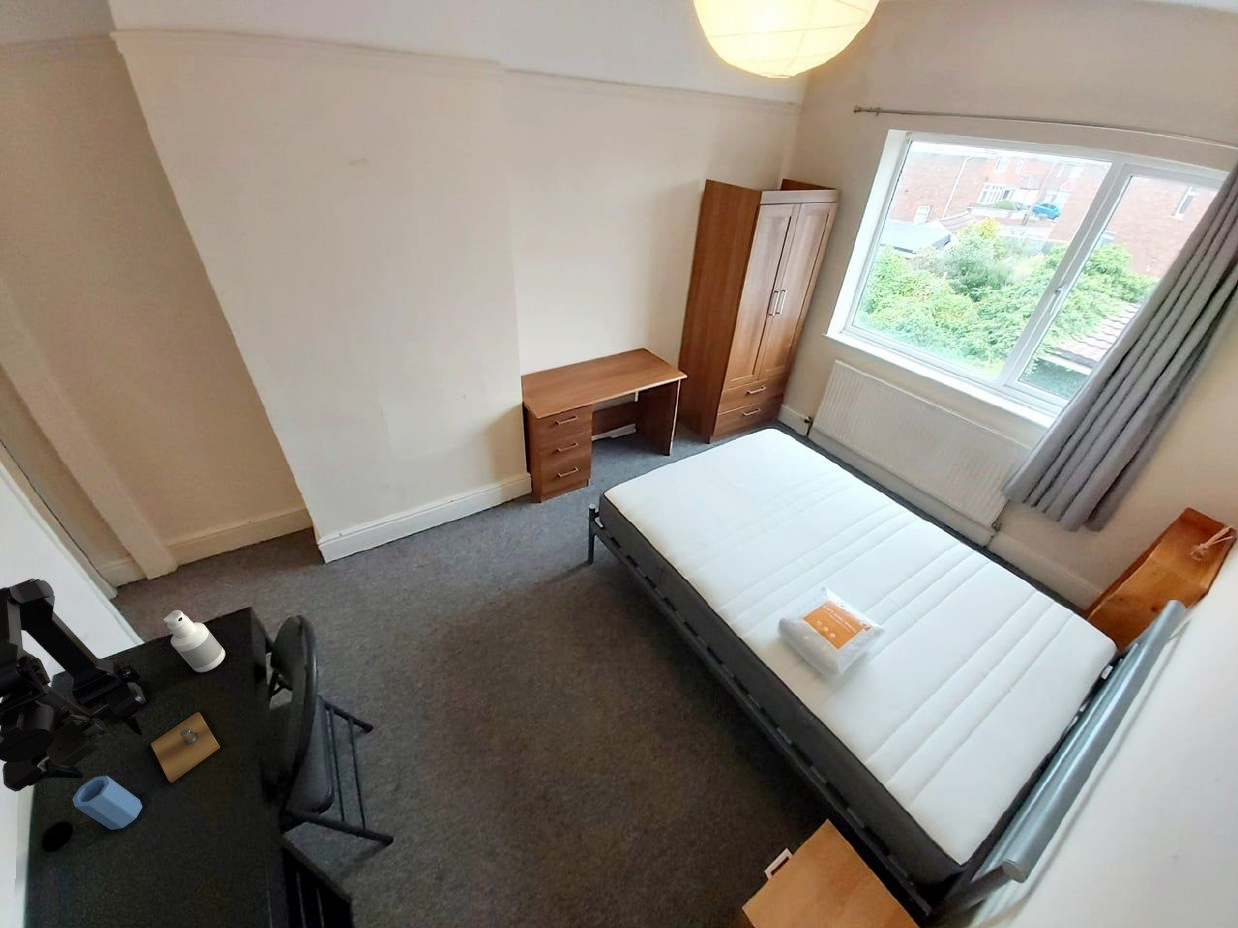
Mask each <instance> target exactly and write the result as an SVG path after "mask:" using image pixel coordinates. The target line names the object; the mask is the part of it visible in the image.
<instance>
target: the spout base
mask: <svg viewBox="0 0 1238 928" xmlns="http://www.w3.org/2000/svg"><path fill="white" fill-rule="evenodd" d="M150 746H151V749H152V750H153V752H154V754H155V756H156V758H157V760H158V762H159V764H160V766H161V769H162V770H163V773H164V774H165V776H166V778H167V780H168V782H170V783H171V784H172V783H174V782H175V781H177V780H178V779H180V778H181V777H182V776H184V775H185V774H186V773H188V772H189V771H191V770H192V769H193V768H195V767H196V766H197V765H199V764H200V763H201V762H203V761H204V760H205V759H207V758H208V757H210V756H211V755H212V754H214V753H216V751H217V750H219V749H220V748H221V746H220V744H219V742H218V741H217V739H216V738H215V736H214V734H213V733H212V731H211V729H210V728H209V726H208V724H207V723H206V720H205V719H204V717H203V716H202V714H201V713H200V712H199V711H197V712H195V713H194V714H192V715H191V716H189V717H188V718H186V719H185V720H184V721H182V722H180V723H179V724H178V725H176V726H175V727H173V728H171V729H170V730H169V731H167V732H165V733H164V734H162V735H161V736H160V737H158V738H157V739H155V740H154V741H151V742H150Z"/></svg>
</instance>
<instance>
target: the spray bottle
mask: <svg viewBox="0 0 1238 928" xmlns="http://www.w3.org/2000/svg"><path fill="white" fill-rule="evenodd" d="M163 622H164V623H165V624H166V626H167V629H168V630H169V631H170V632H171V634H172V637H171V638H170V644H171V646H172V647H173V648H174V649H175V650H176V652H177V653H178V654H179V655H180V656H181V657H182V659H184V660H185V662H186V663H187V664H188V665H189V666H190V667H191V669H192V670H193V671H195V672H197V673H205V672H209V671H211V670H213V669H215V668H217V667H218V666H219V665H220V664H221V663H222V662H223V661H224V659H225V657H226V651H225V649H224V648H223V647H222V645H221V644H220V643H219V641H218V640H217V639H216V638H215V637H214V635H213V634H212V633H211V631H210V630H209V629H208V628H207V626H206V625H205V624H204V623H202V622H197V621H196V622H193V620H191V619H190V618H189V617H188V615H186V614H184V612H183V611H182V610H180V609H176V610H175V609H174V610H172V611H171V612H170V613H168V615H167V616H165V617H164V618H163Z"/></svg>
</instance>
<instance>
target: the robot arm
mask: <svg viewBox="0 0 1238 928" xmlns="http://www.w3.org/2000/svg"><path fill="white" fill-rule="evenodd" d="M55 600H56V596H55V591H54V589H53V587H52V586H51V584H50V583H49V582H48V581H46V580H44V579H41V578H29V579H26V580H24V581H22V582H19V583H16V584H13V585H11V586H8V587H7V586H4V587H2V588H0V699H1V700H0V761H2V762H4V764H3V766H2V780H3V785H4V786H5V787H6V788H7V789H8V790H11V791H13V792H15V793H16V792H20V791H22V790H23V789H25V788H26V787H31V786H34V785H36V784H37V783H39V782H41V781H44V780H45V779H54V778H57V779H59V778H61V779H83V778H84V777H85V776H84V773H83V772H82V771H81V770H80V769H78V768H77V767H75V766H76V765H77V764H78V763H79V762H81V761H82V760H83V759H84V758H87V756H89V755H91V754H94V752H96V751H97V750H98V749H99V747H100V745H101V743H100V740H102V739H103V735H105V734H106V733H107V732H108V728H107V726H106V724H105V722H104V721H105V720H106V719H108V718H109V717H111V719H112V722H113V723H118V722H121V723H124V724H125V725H127V727H128V728H129V729H130V730H132V732H133V733H134V734H136V735H138V736H139V737H140V736H142V735H143V731H142V729H141V726H140V725H139V722H138V719H137V718H136V714H138V713H139V712H140V711H141V709H142V707H144V706H145V705H147V704H149V703H150V698H149V696H148V695H147V693H146V691H145V689H144V687H143V686H142V685H138V681H139V680H140V678H141V675H140V674H139V673H138V672H137V671H136V669H134V668H133V666H132V665H125V666H120V664H118V663H117V662H116V661H115V660H113V659H106V658H101V657H100V658H99V657H97V656H96V655H95V654H94V653H93V652H92V651H91V649H89V648H88V647H87V646H86V645H85V643H84V642H83V641H82V640H81V638H79V637H78V636H77V635H76V634H75V633H74V631H72V629H71V628H70V627H69V626H68V625H67V624H66V623H65V621H64V620H62V618H61V617H60V616H59V615H58V614H57V613H56V612H55V611H54V610H55V602H56V601H55ZM22 631H24V632H26V633H27V634H28V635H29V636H30V637H31V638H32V639H33V640H34V641H35V642H36V643H37V644H38V645H39V646H40V647H41V648H42V649H43V650H44V651H45V652H46V653H47V654H48V655H49V656H50V657H51V658H52V659H53V660H54V661H55V662H56V663H57V664H58V665H59V666H60V667H61V668H62V669H63V670H64V671H65V672H66V673H67V674H68V675H69V676H70V677H71V678H72V682H71V694H72V698H73V700H74V701H72V700H71V697H70V696H68V695H66V694H65V695H63V694H62V693H60V692H59V691H57V690H55V688H53V687H51V686H50V685H49V684H50V683H51V684H52V681H51V679H50V677H49V674H48V672H47V670H46V668H45V665H44V664H43V661H42V660H41V659H40V658H39V657H36V656H35V655H34V654H32V653H29V652H28V651H27V650H26V649H24V644H23V635H22ZM100 704H101V705H103V707H101V708H99V709H98V710H97V711H95V712H94V713H92V714H91V712H89V710H92V709H94V707H96V706H98V705H100Z"/></svg>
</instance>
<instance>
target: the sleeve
mask: <svg viewBox="0 0 1238 928" xmlns="http://www.w3.org/2000/svg"><path fill="white" fill-rule="evenodd" d="M72 802H73V803H72V804H73V805H74V808H76V809H77V810H80V812H83V813H84V814H86V815H87V816H89V817H91V818H92V819H93V820H95V821H96V822H98V823H100V824H101V825H103V826H105V828H107V829H109V830H111V831H113V830H121V829H123V828H125V827H127V826H128V825H130V824H131V823H133V821H135V820H136V819H137V818H138V816H139V814H140V812H141V810H142V809H143V804H142V801H141V800H140V799H139V798H138V797H136V796H135V795H134V794H133V793H131V792H130V791H128V790H127V789H126V788H124V787H123V786H121V785H120V784H119V783H118V782H116V781H115V780H113V779H112V778H111V777H109V776H108V775H102V776H94V777H93V778H91V779H90V780H88V781H87V782H85V783H84V784H83V785H81V786H80V787H79V789H78V790H77V791H76V793H75V794H74V796H73V797H72Z"/></svg>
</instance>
